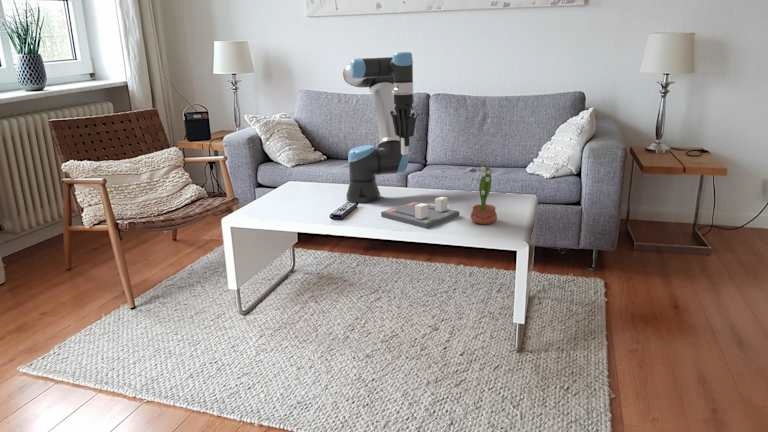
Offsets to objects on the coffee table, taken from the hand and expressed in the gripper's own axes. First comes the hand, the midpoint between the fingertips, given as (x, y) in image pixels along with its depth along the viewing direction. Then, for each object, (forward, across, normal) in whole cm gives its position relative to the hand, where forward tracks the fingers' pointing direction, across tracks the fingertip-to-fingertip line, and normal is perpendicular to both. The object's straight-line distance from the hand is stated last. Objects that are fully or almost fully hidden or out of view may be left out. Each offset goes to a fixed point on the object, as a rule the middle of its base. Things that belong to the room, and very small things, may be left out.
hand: (404, 153), depth 231 cm
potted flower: (+25, +32, +9) cm, 41 cm away
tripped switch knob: (+22, +14, -6) cm, 27 cm away
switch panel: (+24, +8, 0) cm, 26 cm away
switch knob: (+22, +14, +5) cm, 27 cm away
